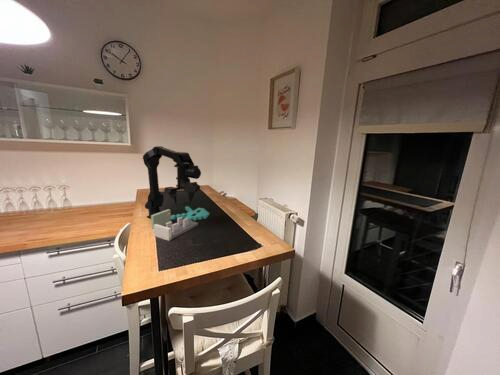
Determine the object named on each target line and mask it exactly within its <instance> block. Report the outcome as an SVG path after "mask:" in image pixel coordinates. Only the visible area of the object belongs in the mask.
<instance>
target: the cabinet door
mask: <svg viewBox="0 0 500 375" xmlns="http://www.w3.org/2000/svg"><path fill="white" fill-rule="evenodd" d="M171 213H172V212H171V209H169V208H168V209H165V210H162V211H160V212H159V213H156V214H154V215H151V218H150V222H151V223H150V224H151V230H153V229H154V225H155V224H158V225H161V226H166V223H168V222H170V221H171V222H172V219H171V216H172V214H171Z"/></svg>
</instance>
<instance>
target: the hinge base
mask: <svg viewBox="0 0 500 375" xmlns="http://www.w3.org/2000/svg"><path fill="white" fill-rule="evenodd" d="M197 226H199V222H196V221H194V220H192V221H189V220H188V218H186V219H184V217H179V218H176V222H175V223H173V221H172V220H171V221H170V222H168V223H166V225H164V226H161V225H158V224H155V225H154V230H153V234H154V237H156V238H159V239H162V240H165V241H168V242H169V241H171V240H174V239H176V238H178V237H179V236H180V235H182V234H185V233H186V232H188V231H190V230H192V229H194V228H196V227H197Z"/></svg>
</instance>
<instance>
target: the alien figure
mask: <svg viewBox="0 0 500 375" xmlns="http://www.w3.org/2000/svg"><path fill="white" fill-rule="evenodd" d="M184 210H186V213H185V212H184V213H181V214H180V213H177V214H176V215H175V214H171V220H175V219H177V218H179V217H183V220H184V219H186V218H188V220H189V221H194V222H196V221H197V220H202V219H205V220H206V219H207V218H208V217H210V214H211V213H210V212H208V210H207V209H205V207H197V208H196V209H194V210H193V209H192V208H191V207H190V206H188V205H187V206H185V207H184Z"/></svg>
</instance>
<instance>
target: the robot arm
mask: <svg viewBox="0 0 500 375" xmlns="http://www.w3.org/2000/svg"><path fill="white" fill-rule="evenodd" d="M163 156H164V157H166V158H169V159H171V160H172V162H174V163H175V164H174V165H173V167H175V168H176V177H175V180H177V184H176V185H175V186H167V187H165V188H164V190H163V191H164V194H167V195H168V196H169V197H170V199H171V200H172V202H173V205H174V206H177V196H178V193H177V192H181V191H184V192H186V193H188V200H189V202H190V203H192V201H193V198H194V196H195V194H196V193H197V192H199V191H201V185H200V184H198V182H197V181H192V182H191V179H195V180H198V179H199V178H201V175H202V171H201V169H200V168H199V165H195V163H194V161H193V160H192V157H191V155H190V153H188V152H186V151H175V150H173V149H169V148H166V147H164V146H161V145H160V146H154V147H152V149H149V150H148V151H146V152H145V153H144V154H143V155H142V159H143V160H142V161H143V164H144V166H145V167H146V168H147V174H148V182H149V183H148V184H149V194H148V195H147V201H146V203H145V204H144V208H145V210H147V211H148V215H147V216H146V218H148V219H151V215H154V214H156V213H159V212H161V210H160V209H161V207H163V204H164V200H165V198H164V194H163V193H161V192H160V186H159V176H158V167H159V165H160V159H161V158H163Z"/></svg>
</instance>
